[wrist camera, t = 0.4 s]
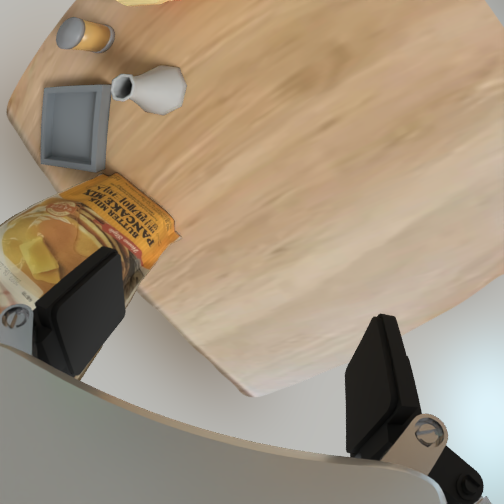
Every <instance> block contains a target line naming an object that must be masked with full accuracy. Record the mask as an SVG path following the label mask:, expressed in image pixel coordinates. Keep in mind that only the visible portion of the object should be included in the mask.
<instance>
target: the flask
mask: <svg viewBox="0 0 504 504" xmlns="http://www.w3.org/2000/svg"><path fill="white" fill-rule="evenodd" d="M186 87H187V85H186V82H185V80H184V78H183V75H182V73H181V70H180V68H178V67H171V66H164V65H160V66H157V67H156V68H154V69H152V70H150V71H148V72H146V73H143V74H141V75H139V76H134V77H133V75H130V74H120V75H119V76H117V77H116V78H114V79H113V80H112V85H111V89H110V91H111V94H112V97H113V99H114V100H117V101H126V100H128V99H131V100H133V101H134V102H135V103H136V104H138V105H139V106H140V107H141V108H142V109H143V110H144V111H145V112H149V113H154V114H159V115H165V114H167V113H169V112H171V111H173V110H175V109H177V108H179V107H181V106H182V103H183V99H184V95H185V91H186Z"/></svg>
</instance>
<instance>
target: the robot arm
mask: <svg viewBox="0 0 504 504" xmlns="http://www.w3.org/2000/svg"><path fill="white" fill-rule="evenodd" d="M35 307H36V308H35V309H34V310H32V309H31V307H29V306H28V305H25V304H15V305H11V306H9V307H7V308H6V309H4V310H3V311H2V313H1V314H0V504H491V502H490V501H489V499H488V498H487V496H486V497H484V498H483V497H482V496H481V495H482V492H483V481H482V478H481V476H480V475H479V473H478V472H477V471H476V470H474V469H473V468H472V467H471V466H470V465H468V464H467V463H466V462H465V461H464V460H463V459H461V458H460V457H459V456H458V455H457V454H455V453H454V452H453V451H452V450H451V449H450V448H448V447H447V446H446V443H447V440H448V432H447V429H446V427H445V425H444V423H443V422H442V421H441V420H440V419H439V418H437V417H436V416H434V415H431V414H422V413H421V408H420V403H419V398H418V394H417V389H416V385H415V381H414V377H413V373H412V369H411V365H410V361H409V358H408V356H406V352H405V348H404V345H403V341H402V337H401V334H400V330H399V327H398V324H397V320H396V318H395V317H394V316H390V315H385V314H379V315H378V316H377V317H373V318H372V320H371V322H370V324H369V326H368V328H367V330H366V332H365V334H364V336H363V338H362V340H361V342H360V344H359V346H358V348H357V349H356V351H355V353H354V355H353V357H352V359H351V361H350V363H349V364H348V367H347V368H346V372H345V393H346V451H347V453H350V457H342V456H334V455H326V454H319V453H311V452H305V451H298V450H292V449H286V448H280V447H276V446H271V445H266V444H261V443H256V442H252V441H247V440H243V439H239V438H235V437H230V436H227V435H223V434H219V433H216V432H212V431H209V430H205V429H201V428H198V427H195V426H191V425H188V424H185V423H182V422H179V421H176V420H173V419H170V418H167V417H165V416H162V415H159V414H156V413H153V412H150V411H148V410H146V409H143V408H140V407H138V406H135V405H132V404H130V403H128V402H125V401H123V400H121V399H118V398H116V397H114V396H111V395H109V394H107V393H105V392H102V391H100V390H98V389H96V388H93V387H92V386H90V385H87V384H85V383H83V382H81V381H79V380H77V379H75V378H74V377H75V376H78V375H80V374H81V373H82V371H83V370H84V369H85V367H86V366H87V365H88V363H89V362H90V361H91V359H92V358H93V357H94V355H95V354H96V353H97V351H98V350H99V349H100V347H101V346H102V345H103V343H104V342H105V341H106V340H107V338H108V337H109V336H110V334H111V333H112V332H113V331H114V329H115V328H116V327H117V326H118V324H119V323H120V322H121V321H122V319H123V318H124V316H125V300H124V289H123V277H122V261H121V255H120V254H118V251H117V250H116V249H113V248H109V247H106V246H102V247H100V248H99V249H98V250H97V251H95V252H94V253H93V254H92V255H90V256H89V257H88V258H87V259H85V260H84V261H83V262H82V263H80V264H79V265H78V266H77V267H76V268H74V269H73V270H72V271H71V272H70V273H68V274H67V275H66V276H65V277H64V278H62V279H61V280H60V281H59V282H58V283H57V284H55V285H54V286H53V287H52V288H51V289H50V290H49V291H47V292H46V293H45V294H44V295H43V296H42V297H41V298H40V299H38V300H37V301H36V302H35Z"/></svg>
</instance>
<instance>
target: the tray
mask: <svg viewBox="0 0 504 504" xmlns="http://www.w3.org/2000/svg"><path fill="white" fill-rule="evenodd" d="M110 89H111V85H78V86H62V87H50V88H44V97H43V109H42V125H41V164H45V165H52V166H59V167H65V168H72V169H78V170H84V171H90V172H98V171H101V170H104V169H105V161H106V144H107V131H108V120H109V110H110V101H111V91H110Z"/></svg>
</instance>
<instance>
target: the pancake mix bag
mask: <svg viewBox="0 0 504 504" xmlns="http://www.w3.org/2000/svg"><path fill="white" fill-rule="evenodd" d="M180 239H182V238H181V237H180V236H179V234H178V233H177V232H176V231H175V221H174V219H173V218H172V217H171V216H170V215H169V214H168V212H166V211H165V210H164V209H163V208H161V207H160V206H159V205H158V204H156V203H155V202H154V201H153V200H151V199H150V198H149V197H148V196H146V195H145V194H144V193H142V192H141V191H140V190H139V189H137V188H136V187H135V186H134V185H133V184H132V183H130V182H129V181H128V180H127V179H125V178H124V177H123V176H121V175H120V174H118V173H117V172H116V173H115V174H113V175H111V176H110V177H109V176H107V175H104V174H102V173H101V174H100V175H98V176H97V177H95V178H94V179H91V180H88V181H85V182H83V183H80V184H78V185H75V186H72V187H70V188H68V189H66V190H65V191H62V192H60V193H58V194H55V195H53V196H51V197H48V198H46V199H44V200H42V201H40V202H38V203H36V204H34V205H32V206H30V207H29V208H27V209H25V210H24V211H22V212H20V213H18V214H16V215H14V216H12V217H11V218H9V219H8V220H6V221H5V222H4V223H2V224H1V225H0V314H1V313H2V311H3V310H4V309H6V308H7V307H9V306H11V305H15V304H25V305H28V306H29V307H31V309H32V310H34V309H35V308H36V307H35V302H36V301H37V300H38V299H40V298H41V297H42V296H43V295H44V294H45V293H46V292H47V291H49V290H50V289H51V288H52V287H53V286H54V285H55V284H57V283H58V282H59V281H60V280H61V279H62V278H64V277H65V276H66V275H67V274H68V273H70V272H71V271H72V270H73V269H74V268H76V267H77V266H78V265H79V264H80V263H82V262H83V261H84V260H85V259H87V258H88V257H89V256H90V255H92V254H93V253H94V252H95V251H97V250H98V249H99V248H100V247H102V246H106V247H109V248H113V249H116V250H117V251H118V254H120V255H121V261H122V277H123V289H124V300H125V309H126V307H127V306H128V304H129V303H130V301H131V299H132V298H133V296H134V294H135V292H136V290H137V288H138V286H139V284H140V282H141V281H142V280H143V279H144V277H145V276H146V275H147V274H148V272H149V271H150V270H151V269H152V268H153V267H154V265H155V264H156V262H157V260H158V258H159V257H160V255H161V254H162V253H163V251H164V250H165V249H166V248H167V247H168V246H169V245H171V244H172V243H174V242H176V241H178V240H180ZM101 348H102V346H101V347H100V349H101ZM100 349H99V350H98V351H97V353H98V352H99V351H100ZM97 353H96V354H95V355H94V357H93V358H92V359H91V361H90V362H89V363H88V365H87V366H86V367H85V369H84V370H83V371H82V373H81V374H80V375H78V376H75V377H74V378H75V379H77V380H79V381H80V380H81V378H82V377H83V375H84V374H85V372H86V371H87V369H88V367H89V366H90V364H91V363H92V361H93V360H94V358H95V357H96V355H97Z"/></svg>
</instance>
